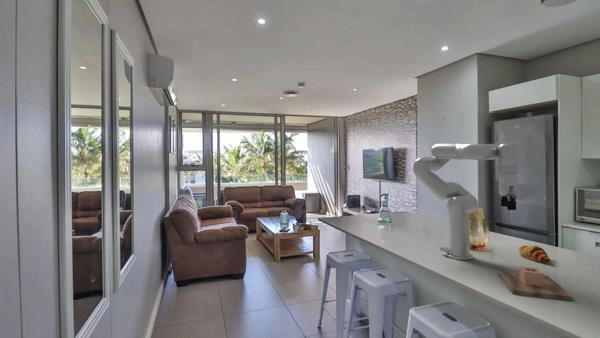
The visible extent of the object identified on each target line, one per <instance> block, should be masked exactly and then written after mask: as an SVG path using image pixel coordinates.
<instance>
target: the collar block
mask: <svg viewBox="0 0 600 338" xmlns="http://www.w3.org/2000/svg"><path fill="white" fill-rule="evenodd" d="M532 271H533V272H532ZM518 273H519V279H520V280H521V281H522V282H523V283H524V284H526V285H535V286H543V275H544V273H543V271H541V270H540V269H539V268H538V267H528V266H519V271H518Z"/></svg>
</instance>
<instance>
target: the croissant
mask: <svg viewBox="0 0 600 338" xmlns="http://www.w3.org/2000/svg"><path fill="white" fill-rule="evenodd" d="M518 253H519V254H520V256H521V257H523V258H525V257H526V258H525V259H527V260H532V261H535V262H537V263H544V264H545V263H549V262H550V260H551V258H550V257H549V256H548V254H547V252H546V251H545V250H544V248H542V247H541V246H538V245H523V246H519V248H518Z"/></svg>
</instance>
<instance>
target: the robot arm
mask: <svg viewBox="0 0 600 338" xmlns="http://www.w3.org/2000/svg"><path fill="white" fill-rule="evenodd" d="M430 154H431V156H422V157H418V158H417V159H415V161H414V163H413V168H412V169H413V173H414V175H415V177H416V178H417V180H419V182H421V183H422V184H423V185H424V186H426V188H427V189H428V190H429V191H431V192H432V193H433V194H434V195H435V196H436V197H437V198H438V199H440V200H442V201H447V200H448V201H447V204H446V208H447V209H446V210H447V214H448V227H449V229H448V230H449V231H448V233H449V234H448V235H449V237H448V238H449V240H448V246H446V247H444V246H439V252H440V251H442V252H443V253H445V255H446V257H448V258H451V259H453V260H460V261H461V260H462V261H463V260H464V261H470V260H473V259H474V255H473V254H472V253H471V244H470V243H471V235H470V234H471V231H470V230H471V225H470V218H469V216H468V214H471V213H474V212H476V211H477V210H478V208H479V201H478V200H477V198H476V197H475V196H474V195H473V194H472V193H470V192H469V191H468V190H467V189H466V188H465V187H463V186H462V185H461V184H460V183H457V182H454V181H445V180H444V179H442V178H441V177H439V175H437V174H436V173H434V172H436V171H439V170H440V169H442V168H443V167H444V166H445V165H446V164H448V163H449V162H450V161H451V160H459V161H462V160H471V161H494V160H497V161H498V165H497V167H498V168H497V170H498V175H499V177H498V194H499V195H500V207H503V208H506V209H507V211H516V210H517V194H518V181H517V179H518V178H517V175H519V145H518V144H517V143H502V144H501V143H500V144H495V143H463V142H460V143H459V142H451V143H449V142H448V143H447V142H444V143H443V142H441V143H439V142H438V143H436V144H434V145H433V146H432V147H431V150H430Z"/></svg>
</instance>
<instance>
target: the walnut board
mask: <svg viewBox="0 0 600 338" xmlns="http://www.w3.org/2000/svg"><path fill="white" fill-rule="evenodd" d="M497 275H498V276H499V278H500V279H501V280H502V282H503V283H504V285H506V287H507V288H508V290H509V291H510V293H511V294H513V295H521V296H527V297H528V296H529V297H536V298H546V299H554V300H555V299H556V300H564V301H574V299H573V296H572V295H571V294H570V292H568V291H567V290H565V289H564V288H563V287H562V286H561V285H560V284H558V283H557V282H556V281H555V280H554V279H553V278H551V277H550V276H549V275H544V274H543V286H535V285H526V284H524V283H523V282H522V281H521V280H520V279H519V272H511V271H504V270H503V271H500V270H497Z"/></svg>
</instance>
